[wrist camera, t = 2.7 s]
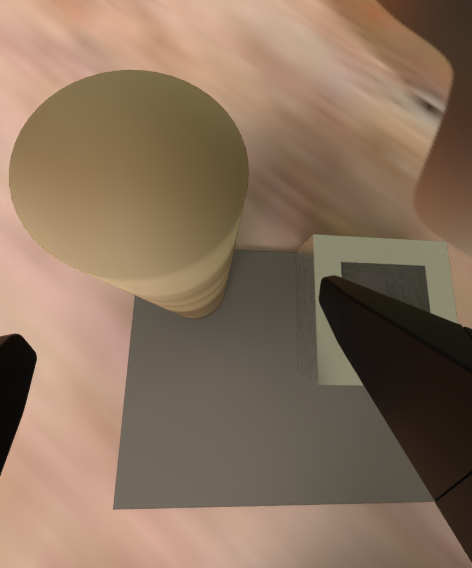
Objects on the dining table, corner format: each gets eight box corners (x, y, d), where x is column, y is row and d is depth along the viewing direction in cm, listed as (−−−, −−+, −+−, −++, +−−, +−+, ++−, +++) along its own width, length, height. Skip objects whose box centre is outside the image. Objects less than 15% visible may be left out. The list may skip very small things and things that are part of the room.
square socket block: (416, 375, 17) (466, 386, 14) (297, 373, 17) (318, 384, 13) (404, 258, 19) (446, 241, 15) (294, 252, 18) (313, 234, 15)
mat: (433, 497, 16) (438, 501, 16) (115, 504, 15) (113, 509, 14) (407, 259, 19) (411, 258, 19) (141, 246, 18) (140, 244, 17)
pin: (223, 319, 17) (247, 283, 4) (163, 318, 16) (-15, 272, 4) (225, 262, 18) (249, 81, 5) (168, 260, 17) (32, 59, 5)
